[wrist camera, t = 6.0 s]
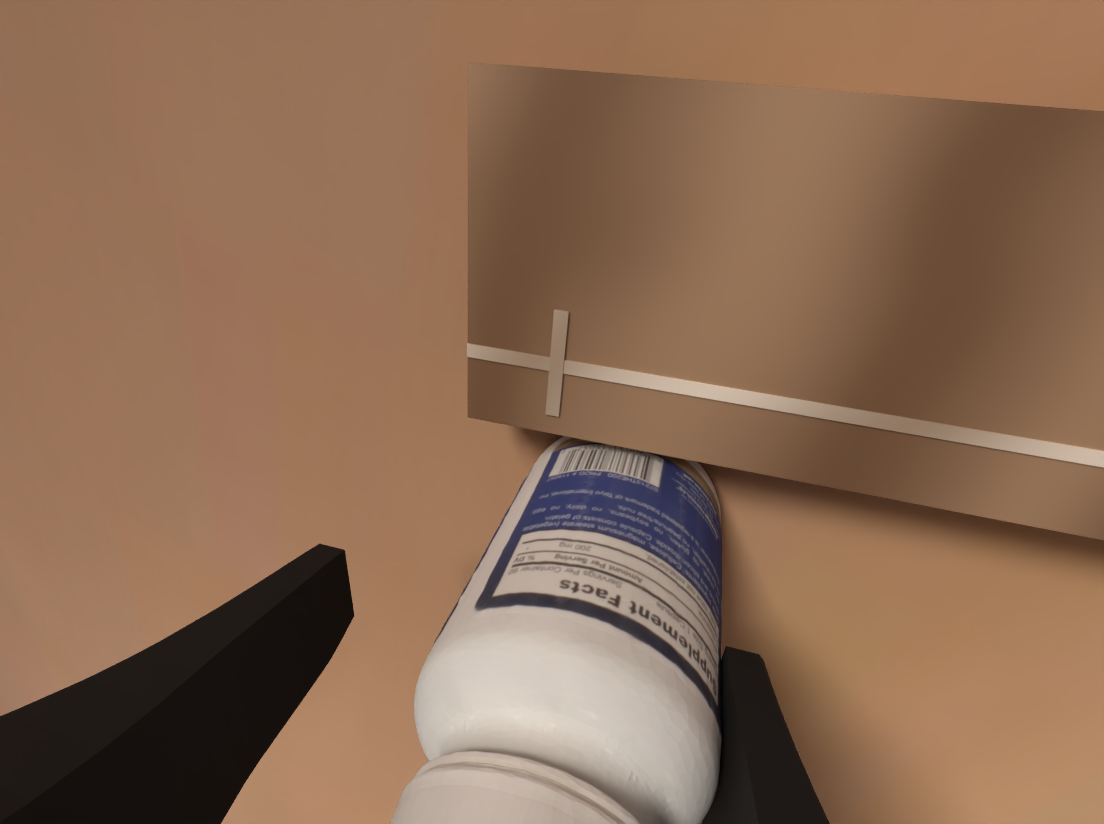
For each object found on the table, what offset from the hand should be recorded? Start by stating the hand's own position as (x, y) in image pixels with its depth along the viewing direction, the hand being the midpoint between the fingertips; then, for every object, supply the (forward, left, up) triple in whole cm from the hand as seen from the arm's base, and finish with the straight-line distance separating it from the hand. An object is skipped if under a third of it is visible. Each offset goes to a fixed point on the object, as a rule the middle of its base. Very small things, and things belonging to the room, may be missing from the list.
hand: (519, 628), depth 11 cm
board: (-7, -6, -5) cm, 11 cm away
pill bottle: (-1, 0, -5) cm, 5 cm away
